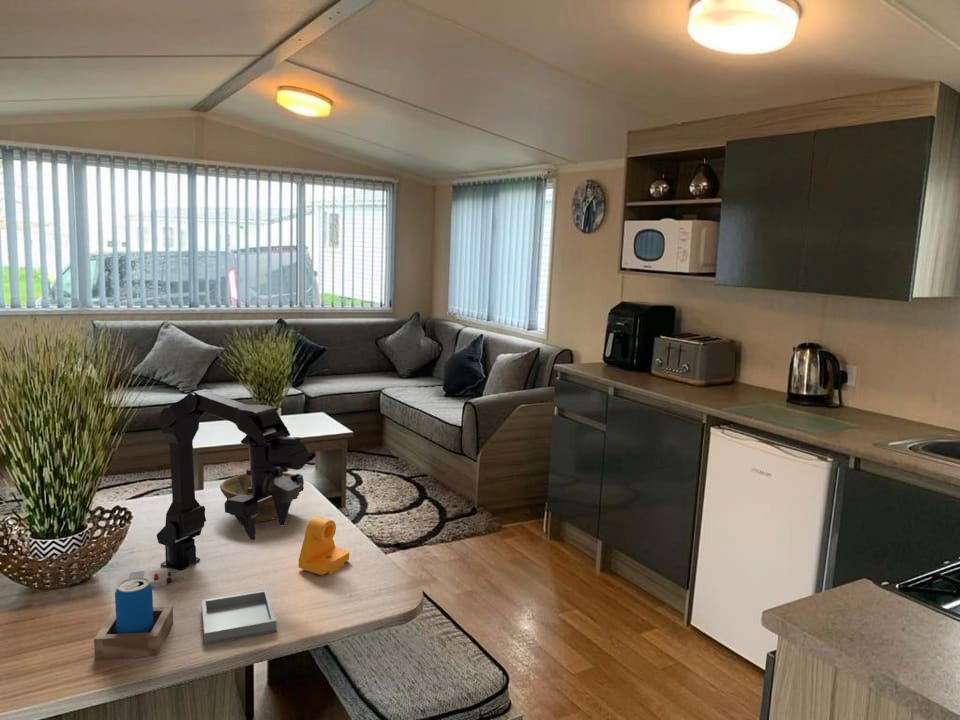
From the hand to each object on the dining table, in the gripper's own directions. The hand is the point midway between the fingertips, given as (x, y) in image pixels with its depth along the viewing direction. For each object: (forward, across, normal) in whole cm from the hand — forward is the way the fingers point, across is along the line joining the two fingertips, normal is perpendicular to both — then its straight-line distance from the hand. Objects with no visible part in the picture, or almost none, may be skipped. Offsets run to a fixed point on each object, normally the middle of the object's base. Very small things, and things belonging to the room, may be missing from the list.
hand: (267, 532), depth 154 cm
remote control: (+13, -10, +28) cm, 33 cm away
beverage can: (+14, -27, +9) cm, 32 cm away
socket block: (+14, -27, +9) cm, 32 cm away
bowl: (+12, +33, +34) cm, 49 cm away
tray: (+15, -12, -2) cm, 19 cm away
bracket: (+15, +17, -2) cm, 22 cm away
